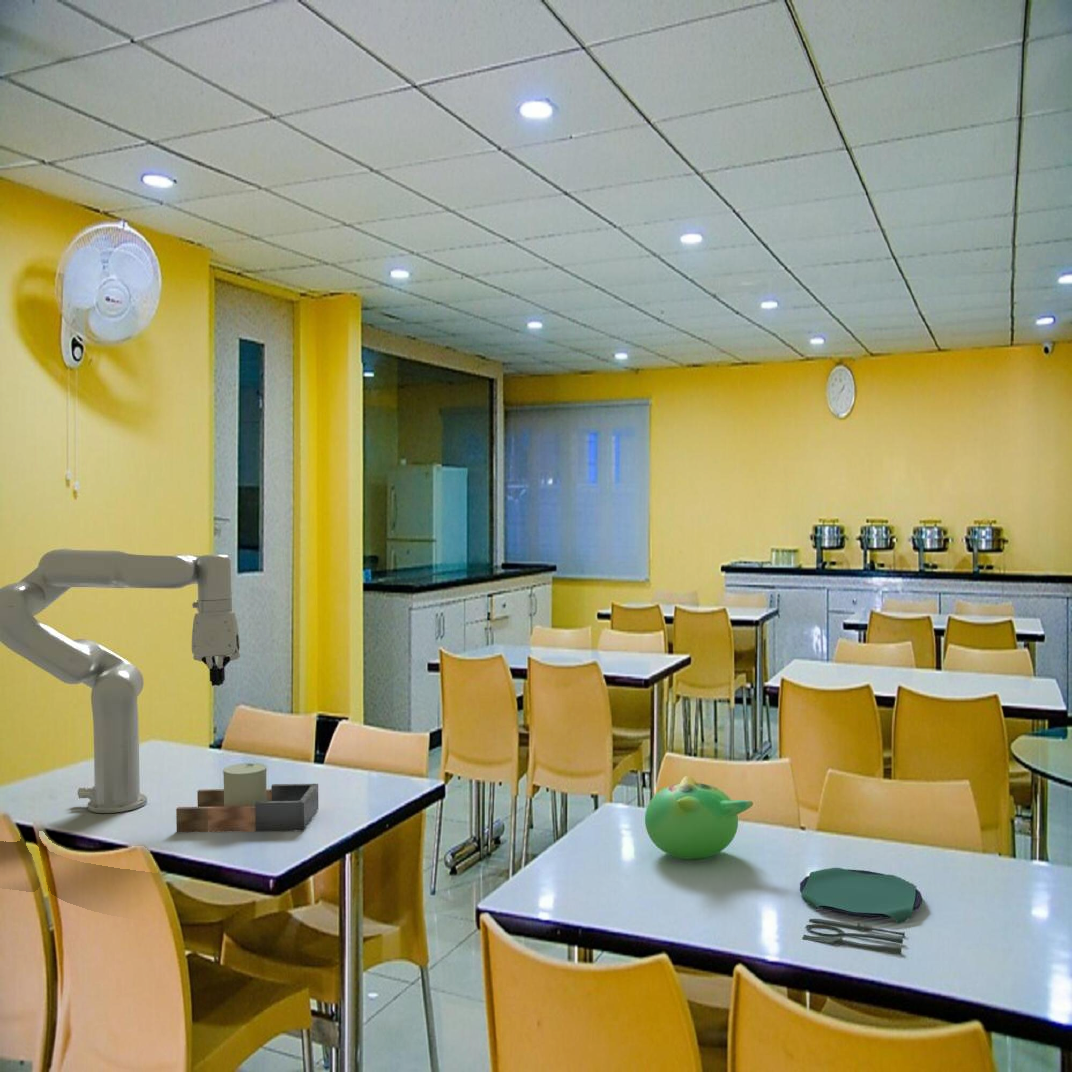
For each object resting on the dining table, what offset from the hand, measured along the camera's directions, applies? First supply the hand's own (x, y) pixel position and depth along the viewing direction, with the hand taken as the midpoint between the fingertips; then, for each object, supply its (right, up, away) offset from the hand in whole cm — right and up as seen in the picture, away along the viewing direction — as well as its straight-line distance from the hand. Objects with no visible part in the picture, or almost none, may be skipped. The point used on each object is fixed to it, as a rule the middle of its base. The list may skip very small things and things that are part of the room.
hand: (217, 684), depth 226 cm
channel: (+8, -27, -17) cm, 33 cm away
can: (+12, -27, -17) cm, 34 cm away
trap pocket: (+21, -27, -17) cm, 38 cm away
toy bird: (+105, -27, -41) cm, 116 cm away
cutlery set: (+128, -28, -67) cm, 147 cm away
